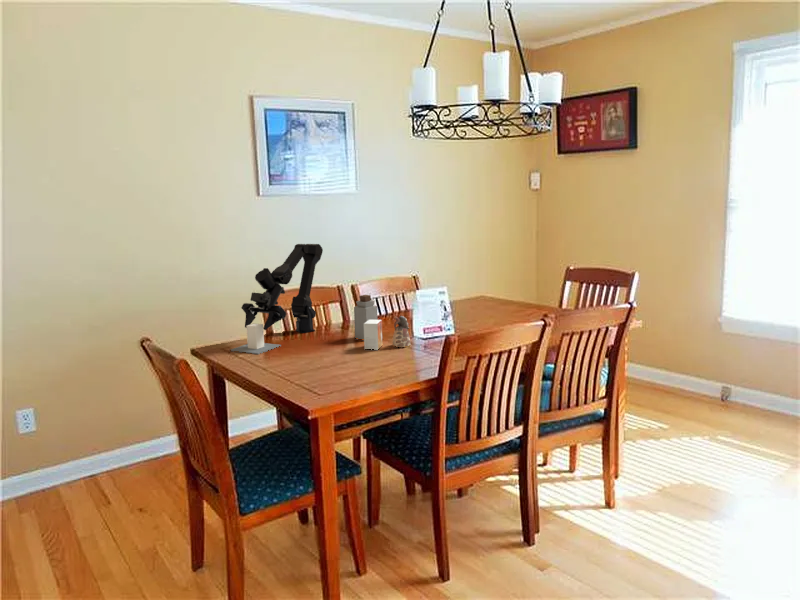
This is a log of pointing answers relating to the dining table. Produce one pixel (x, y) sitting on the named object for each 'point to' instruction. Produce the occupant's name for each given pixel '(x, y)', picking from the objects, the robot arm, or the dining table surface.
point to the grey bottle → (363, 314)
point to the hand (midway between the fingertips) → (254, 328)
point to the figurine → (401, 332)
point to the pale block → (255, 336)
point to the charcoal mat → (256, 351)
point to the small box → (373, 334)
